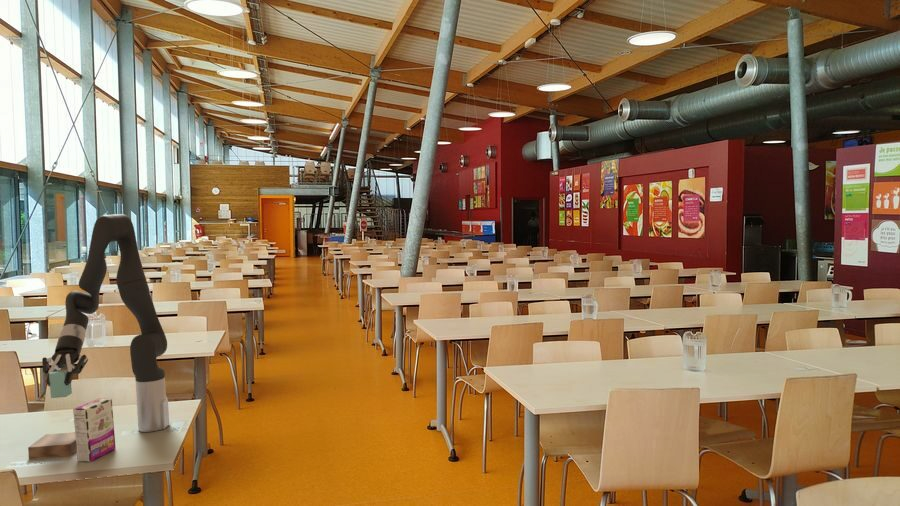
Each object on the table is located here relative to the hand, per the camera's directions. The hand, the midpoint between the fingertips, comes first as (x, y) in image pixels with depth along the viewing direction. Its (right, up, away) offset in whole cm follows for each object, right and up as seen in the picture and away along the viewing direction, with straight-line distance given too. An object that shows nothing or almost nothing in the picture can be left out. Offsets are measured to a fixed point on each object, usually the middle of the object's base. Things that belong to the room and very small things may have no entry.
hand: (57, 384), depth 213 cm
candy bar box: (+17, -20, -9) cm, 28 cm away
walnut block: (+2, -20, -4) cm, 21 cm away
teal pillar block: (0, -4, +2) cm, 5 cm away
